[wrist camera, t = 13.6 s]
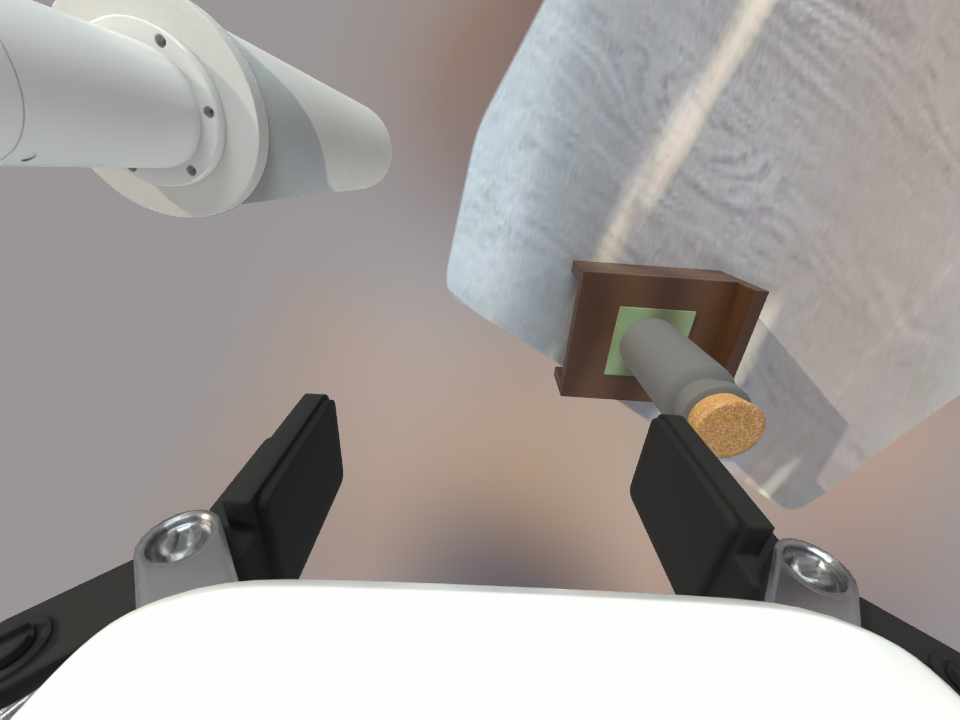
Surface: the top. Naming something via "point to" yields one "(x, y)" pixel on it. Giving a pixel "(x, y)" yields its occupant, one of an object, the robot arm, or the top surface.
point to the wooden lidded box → (651, 294)
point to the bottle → (691, 386)
